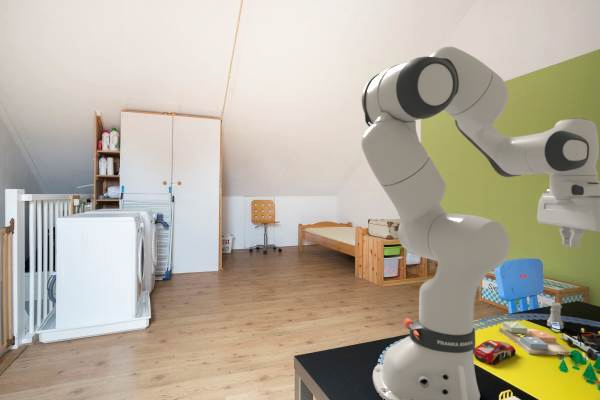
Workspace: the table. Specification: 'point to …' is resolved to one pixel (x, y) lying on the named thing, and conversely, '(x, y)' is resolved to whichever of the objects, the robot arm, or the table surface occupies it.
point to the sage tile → (515, 327)
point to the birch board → (552, 349)
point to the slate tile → (534, 343)
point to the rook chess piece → (555, 314)
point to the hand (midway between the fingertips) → (570, 246)
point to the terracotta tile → (543, 336)
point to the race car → (494, 351)
